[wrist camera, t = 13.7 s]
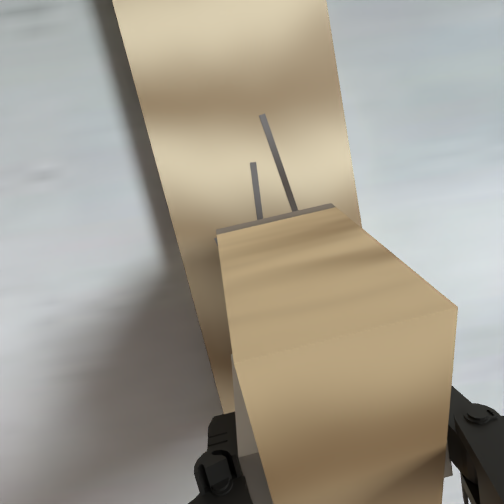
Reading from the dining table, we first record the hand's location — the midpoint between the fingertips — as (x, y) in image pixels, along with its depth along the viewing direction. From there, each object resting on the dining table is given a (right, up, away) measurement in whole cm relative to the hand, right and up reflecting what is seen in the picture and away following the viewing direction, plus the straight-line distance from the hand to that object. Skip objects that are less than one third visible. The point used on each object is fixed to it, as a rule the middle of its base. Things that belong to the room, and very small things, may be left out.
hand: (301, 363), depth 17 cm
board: (-2, +7, +1) cm, 7 cm away
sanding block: (-1, +3, -1) cm, 4 cm away
